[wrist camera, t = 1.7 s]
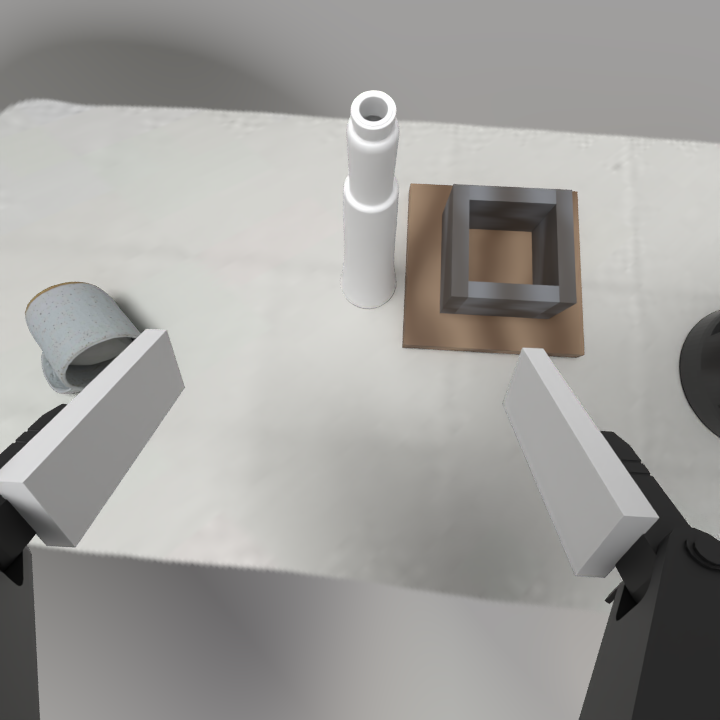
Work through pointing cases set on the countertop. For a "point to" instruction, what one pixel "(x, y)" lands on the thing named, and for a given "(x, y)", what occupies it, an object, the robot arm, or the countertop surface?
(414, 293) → the bottle holder
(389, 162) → the cosmetic bottle
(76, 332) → the ceramic mug
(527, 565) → the countertop surface
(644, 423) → the countertop surface
